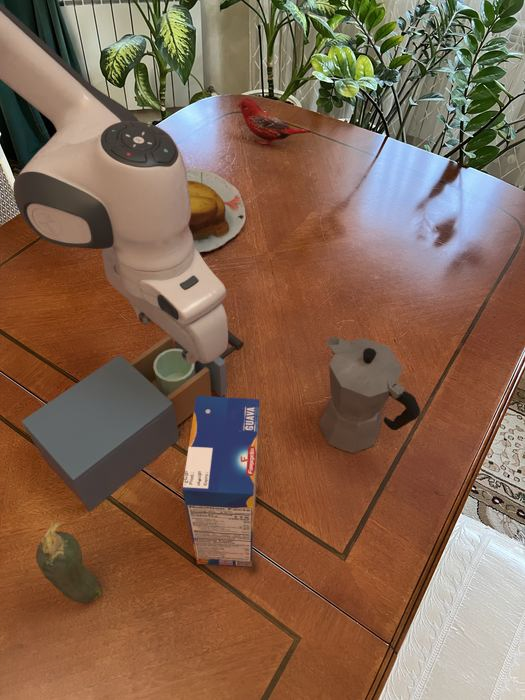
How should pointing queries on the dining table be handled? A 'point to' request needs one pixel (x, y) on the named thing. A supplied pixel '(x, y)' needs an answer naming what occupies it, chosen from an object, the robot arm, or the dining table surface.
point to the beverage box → (222, 479)
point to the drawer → (195, 386)
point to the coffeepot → (362, 394)
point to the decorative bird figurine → (265, 123)
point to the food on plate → (213, 209)
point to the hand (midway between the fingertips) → (167, 339)
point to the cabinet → (103, 430)
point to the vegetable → (66, 566)
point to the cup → (172, 371)
